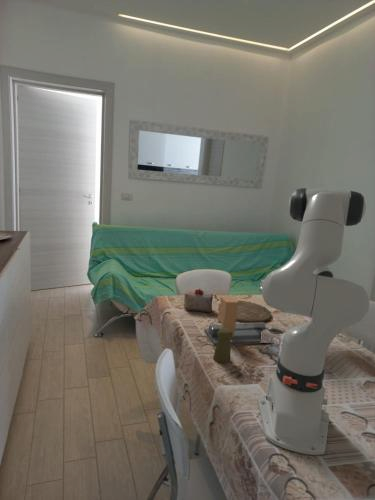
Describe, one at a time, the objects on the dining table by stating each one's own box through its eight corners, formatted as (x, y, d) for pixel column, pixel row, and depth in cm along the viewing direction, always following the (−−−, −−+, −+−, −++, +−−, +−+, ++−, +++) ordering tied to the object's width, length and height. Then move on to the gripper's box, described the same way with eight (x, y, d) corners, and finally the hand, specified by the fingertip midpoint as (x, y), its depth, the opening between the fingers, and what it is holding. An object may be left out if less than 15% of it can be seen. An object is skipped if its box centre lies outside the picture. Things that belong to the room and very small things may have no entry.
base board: (257, 329, 146) (257, 327, 146) (271, 343, 135) (271, 340, 134) (204, 331, 139) (204, 328, 139) (214, 345, 128) (214, 342, 128)
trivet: (233, 300, 182) (233, 296, 181) (278, 314, 168) (279, 310, 167) (208, 312, 162) (208, 308, 161) (257, 329, 148) (257, 325, 147)
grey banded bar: (261, 331, 142) (263, 320, 141) (266, 335, 138) (267, 324, 137) (208, 333, 135) (209, 321, 134) (211, 337, 132) (213, 325, 131)
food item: (182, 310, 159) (184, 290, 157) (183, 304, 167) (185, 285, 165) (211, 314, 158) (213, 294, 156) (211, 308, 166) (213, 288, 164)
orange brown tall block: (228, 330, 139) (232, 296, 136) (234, 337, 133) (238, 302, 130) (216, 330, 137) (220, 296, 135) (222, 337, 132) (226, 302, 129)
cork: (229, 365, 115) (233, 335, 113) (212, 361, 116) (215, 331, 114) (231, 356, 121) (235, 327, 119) (214, 353, 122) (217, 324, 120)
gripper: (279, 276, 148) (250, 275, 144) (307, 290, 129) (275, 290, 125) (277, 290, 149) (248, 289, 145) (304, 306, 130) (272, 306, 126)
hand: (260, 290), depth 135 cm, fingers closed
